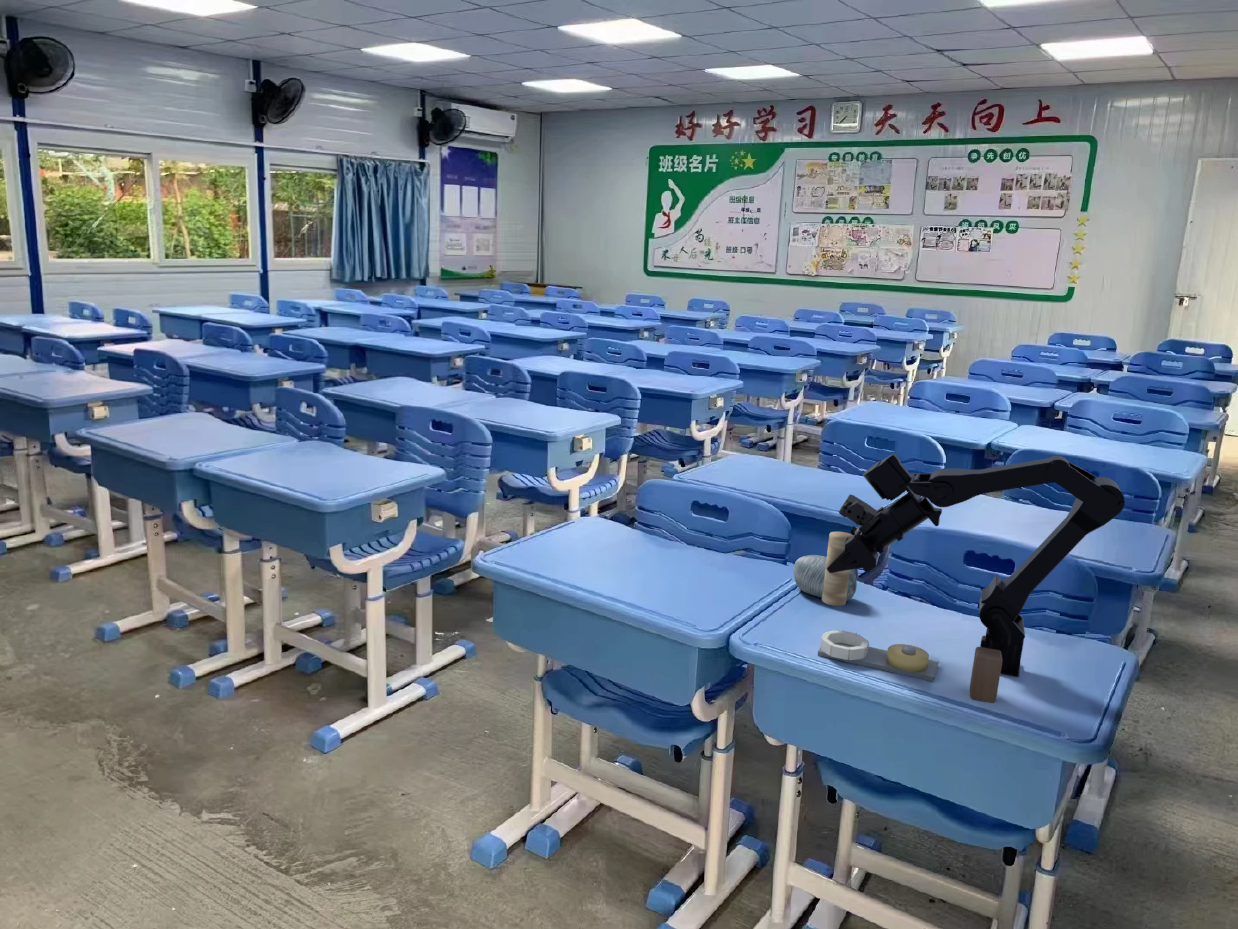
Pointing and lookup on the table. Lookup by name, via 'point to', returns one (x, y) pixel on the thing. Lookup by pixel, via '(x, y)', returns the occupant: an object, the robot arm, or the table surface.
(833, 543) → the peg
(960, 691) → the table surface
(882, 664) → the board
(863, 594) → the table surface
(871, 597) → the table surface
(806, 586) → the grey streaked oval stone
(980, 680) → the wooden block
